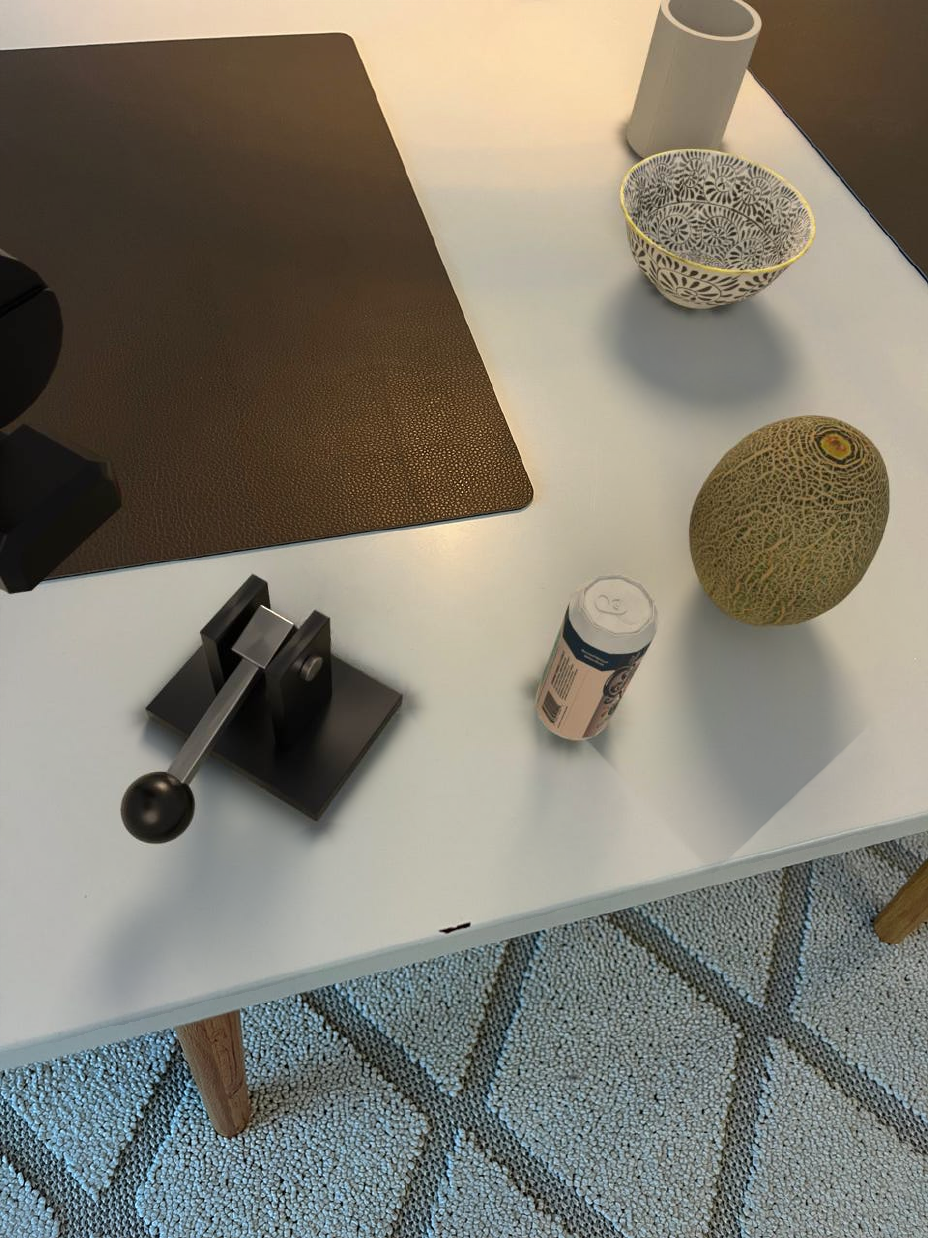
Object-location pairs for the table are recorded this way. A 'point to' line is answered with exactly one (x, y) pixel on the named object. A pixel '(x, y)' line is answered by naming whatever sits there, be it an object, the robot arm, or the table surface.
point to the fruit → (790, 520)
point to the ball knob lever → (202, 738)
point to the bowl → (712, 225)
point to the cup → (692, 75)
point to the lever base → (281, 706)
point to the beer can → (595, 655)
